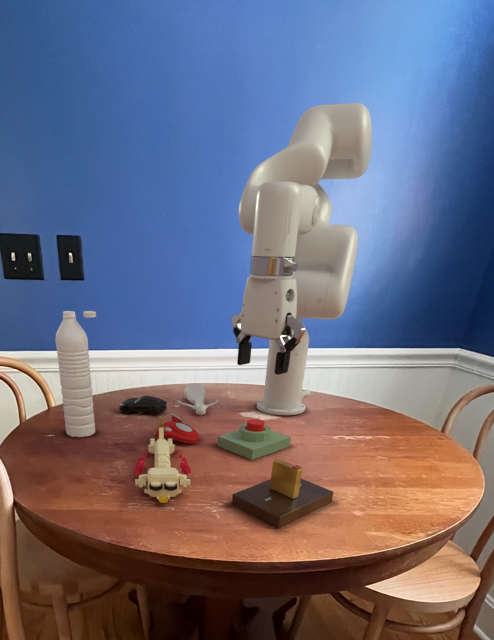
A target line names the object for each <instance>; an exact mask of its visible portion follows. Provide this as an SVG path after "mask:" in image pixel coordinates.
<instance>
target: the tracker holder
mask: <svg viewBox="0 0 494 640" xmlns="http://www.w3.org/2000/svg"><path fill="white" fill-rule="evenodd" d="M170 416H171V419H170V421H166V422H164V439H165V440H168V439H172V440H173V441H176V442H180V443H184V444H186V445H187V444H188V445H194V444H197V443H198V442H199V440H200V434H199V433H198V431H196V429H195V428H193V427H191V426H190V425H188V424H187V423H185V422H184V420H183V417H181V416H180V415H177V414H175V413H173V412H171V413H170ZM154 437H155V438H156V439H157V440H158V439H159V426H158V427H157V429H156V431H155V433H154Z"/></svg>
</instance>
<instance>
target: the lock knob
mask: <svg viewBox="0 0 494 640" xmlns="http://www.w3.org/2000/svg"><path fill="white" fill-rule="evenodd" d="M303 470H304V469H303V467H302V466H300V465H299V464H292V463H290V462H287V461H286V460H282V459H279V458H277V459H275V460H273V461H272V467H271V474H270V479H271V481H270V489H272V490H274V491H276V492H279V493H281V494H283V495H285V496H288V497H290V498H292V499H294V498H296V497H298V494H299V488H300V482H301V479H302V476H303Z"/></svg>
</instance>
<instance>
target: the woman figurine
mask: <svg viewBox="0 0 494 640" xmlns="http://www.w3.org/2000/svg"><path fill="white" fill-rule="evenodd" d="M183 395H184V397H185V399H186V400H187V401H188V402H190V403H185V402H182V401H181V400H180V399H178V400H175V402H176V403H177V404H179V405H183V406H186V407H188V408H191V409H193V410H194V411H195V414H196V415H197V416H200V417H201V416H205V415H206V414H207V411H206V410H207V409H208V408H210V407H212V406H214V405H216V404H219V403H220V399H215V401H214V402H212V403H211V402H210V403H208V404H205V401H206V396H207V390H206V387H205V386H204V385H203V384H201V383H197V382H196V383H195V382H194V383H189V384H188V385H186V387H185V388H184V390H183Z"/></svg>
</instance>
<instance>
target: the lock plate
mask: <svg viewBox="0 0 494 640" xmlns="http://www.w3.org/2000/svg"><path fill="white" fill-rule="evenodd" d="M270 481H271V478H270V479H267V480H265V481H262V482H260V483H257V484H254V485H252V486H249V487H247V488H245V489H242V490H240V491H237V492H234V493H233V494H232V497H231V506H233V507H235V508H237V509H239V510H241V511H243V512H244V513H247V514H249V515H250V516H253V517H255V518H256V519H258V520H261V521H262V522H263V523H264V522H265V523H267V524H268V525H270V526H272V527H274V528H276V529H281V528H283V527H284V526H286V525H288V524H291V523H292V522H294V521H296V520H298V519H301V518H303V517H305V516H306V515H309V514H311V513H312V512H315V511H316V510H319V509H321V508H323V507H325V506H327V505H328V504H331V503H332V502H333V498H334V490H331V489H328V488H326V487H324V486H320V485H318V484H316V483H313V482H311V481H309V480H306V479H304V478H301V482H300V488H299V494H298V497H296V498H294V499H292V498H290V497H288V496H285V495H283V494H281V493H279V492H276V491H274V490H272V489H270Z"/></svg>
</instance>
